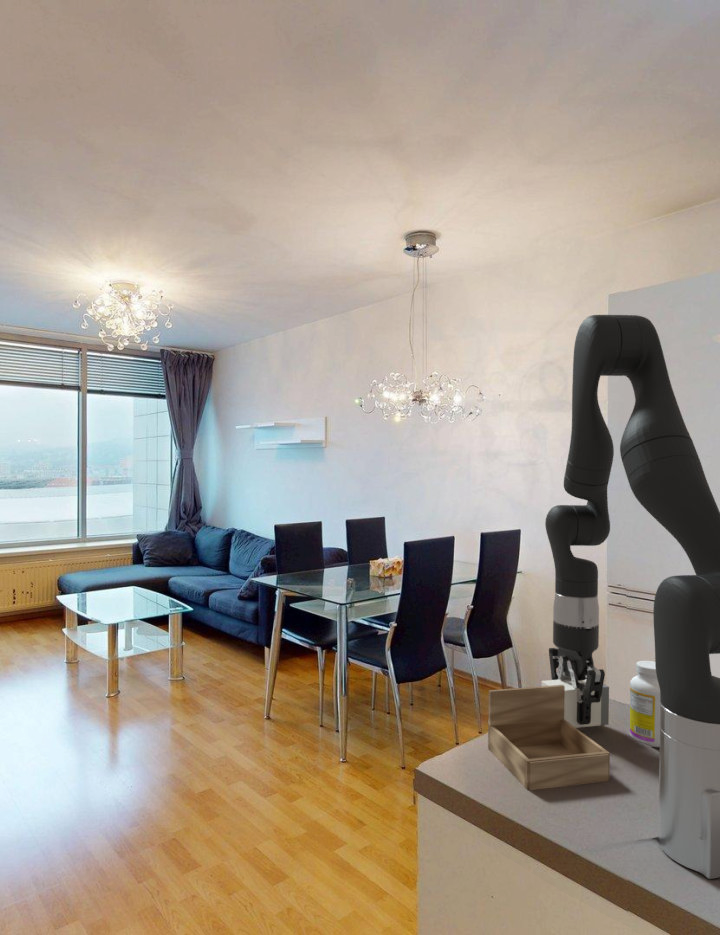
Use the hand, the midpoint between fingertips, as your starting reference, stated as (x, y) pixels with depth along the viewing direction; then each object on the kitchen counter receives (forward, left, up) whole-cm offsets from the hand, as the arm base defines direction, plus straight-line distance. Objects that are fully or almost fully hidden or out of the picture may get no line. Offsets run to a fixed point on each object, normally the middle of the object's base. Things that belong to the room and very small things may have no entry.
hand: (574, 716), depth 108 cm
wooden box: (-11, +12, -3) cm, 16 cm away
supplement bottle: (-6, -11, -3) cm, 13 cm away
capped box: (0, 0, -1) cm, 1 cm away
